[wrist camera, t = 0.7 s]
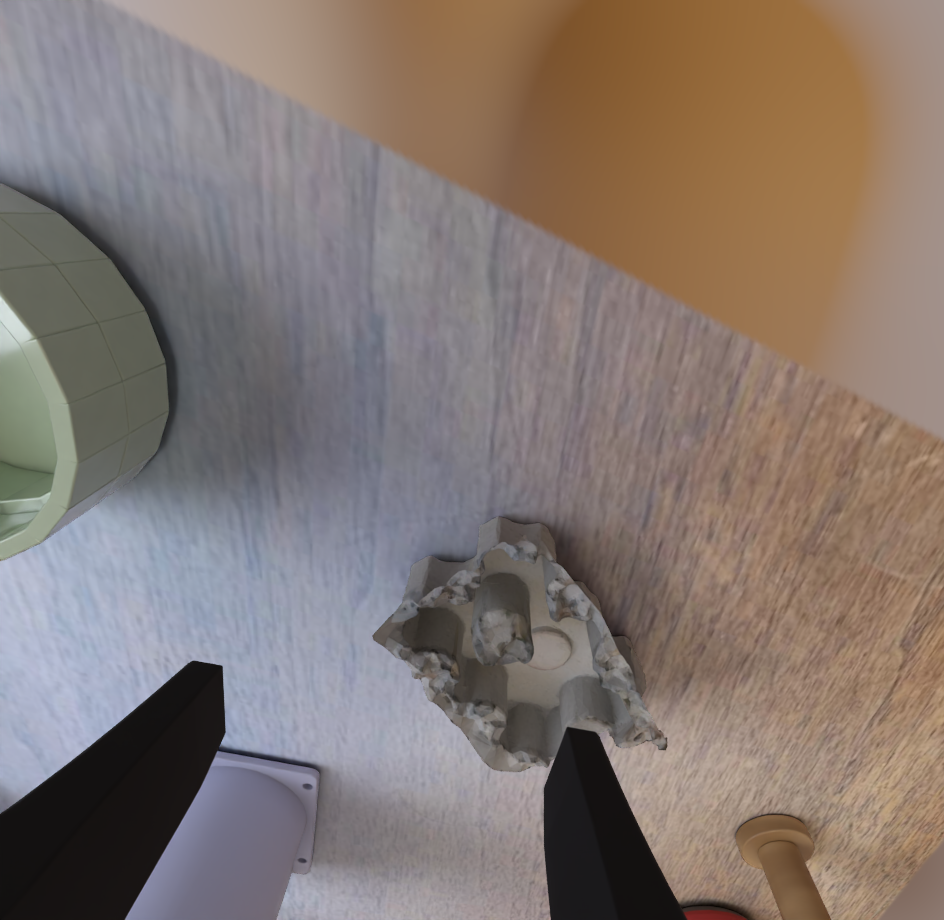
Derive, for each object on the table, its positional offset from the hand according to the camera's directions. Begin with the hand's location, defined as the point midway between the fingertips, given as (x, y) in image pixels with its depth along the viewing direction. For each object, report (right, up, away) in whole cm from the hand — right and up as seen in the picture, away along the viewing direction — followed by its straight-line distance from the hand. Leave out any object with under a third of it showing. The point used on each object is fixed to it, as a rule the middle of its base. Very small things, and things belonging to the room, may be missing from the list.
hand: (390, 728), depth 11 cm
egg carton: (+4, -1, +12) cm, 12 cm away
